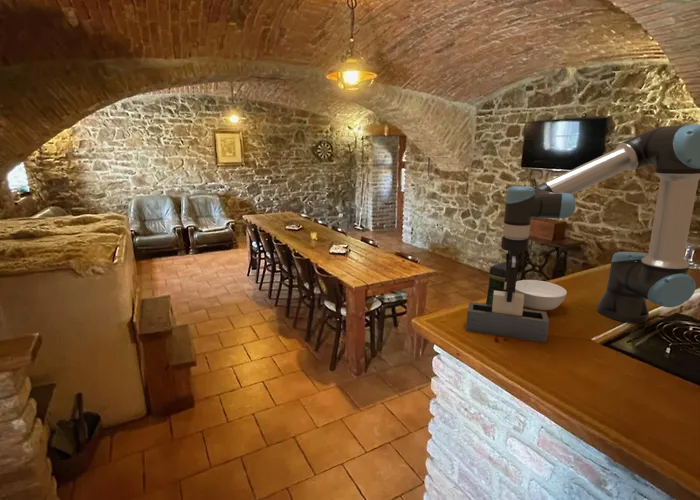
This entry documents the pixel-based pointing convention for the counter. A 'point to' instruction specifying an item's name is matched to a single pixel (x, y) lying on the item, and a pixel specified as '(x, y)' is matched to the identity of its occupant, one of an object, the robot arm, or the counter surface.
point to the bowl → (540, 294)
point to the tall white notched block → (499, 303)
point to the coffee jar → (496, 280)
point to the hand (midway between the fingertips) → (507, 305)
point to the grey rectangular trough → (507, 323)
